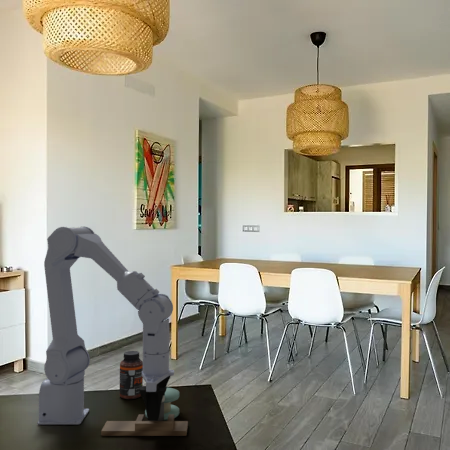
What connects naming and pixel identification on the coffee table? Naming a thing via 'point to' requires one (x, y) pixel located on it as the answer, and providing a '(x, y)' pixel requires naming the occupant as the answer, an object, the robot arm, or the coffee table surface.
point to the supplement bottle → (131, 375)
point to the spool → (168, 408)
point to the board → (145, 427)
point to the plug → (161, 411)
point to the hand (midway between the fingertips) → (155, 413)
